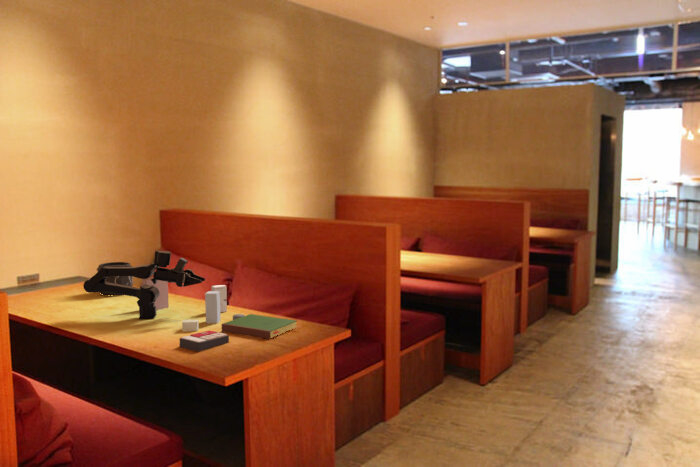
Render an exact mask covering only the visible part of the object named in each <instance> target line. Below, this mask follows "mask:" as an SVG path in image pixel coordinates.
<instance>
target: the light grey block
mask: <svg viewBox="0 0 700 467" xmlns="http://www.w3.org/2000/svg"><path fill="white" fill-rule="evenodd" d="M204 301H205V302H204V303H205V304H204V305H205V307H204V308H205V324H219V323H220V322H221V312H220V291H211V290H209V291H207V292H205V293H204Z"/></svg>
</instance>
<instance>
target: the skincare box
mask: <svg viewBox="0 0 700 467" xmlns="http://www.w3.org/2000/svg"><path fill="white" fill-rule="evenodd" d="M210 291H220V313H226V312H228V308H227V307H228V305H227V304H228V301H227V298H228V297H227V296H228V295H227V293H228V292H227V285H225V284H219V285H218V284H217V285H216V284H215V285H211V290H210Z"/></svg>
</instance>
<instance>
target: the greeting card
mask: <svg viewBox="0 0 700 467" xmlns="http://www.w3.org/2000/svg"><path fill="white" fill-rule="evenodd" d="M151 279H153V277H149V278H147V279H141V281H142V282H141V286H142V285H144V284H147V285H151V286H152V285H154V286H153V287H156V288H158V290H159V297H158V298H156V301H155V302H154V303H155V306H156V311H160V310H165V309H168V307H170V306H169V285H168V283H169V282H166V281H160V280H157V283H156V284H154V283H153V282H152V281H151ZM164 308H165V309H164ZM159 309H160V310H159Z"/></svg>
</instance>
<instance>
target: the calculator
mask: <svg viewBox="0 0 700 467" xmlns="http://www.w3.org/2000/svg"><path fill="white" fill-rule="evenodd" d="M229 340H230V335H228V334H227V333H225V332H218V331H213V330H205V331H201V332H197V333H192V334H190V335H186V336H182V337H180V338H179V348H181V349H184V350H189V351H193V352H196V351H198V353H199V351H201V352H203V351H202V350H204V351H206V350H205V349H207V350H209V349H212V348H215V346H216V347H218V345H219V346H222V345H225V344H228V343H229ZM211 347H212V348H211Z"/></svg>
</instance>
